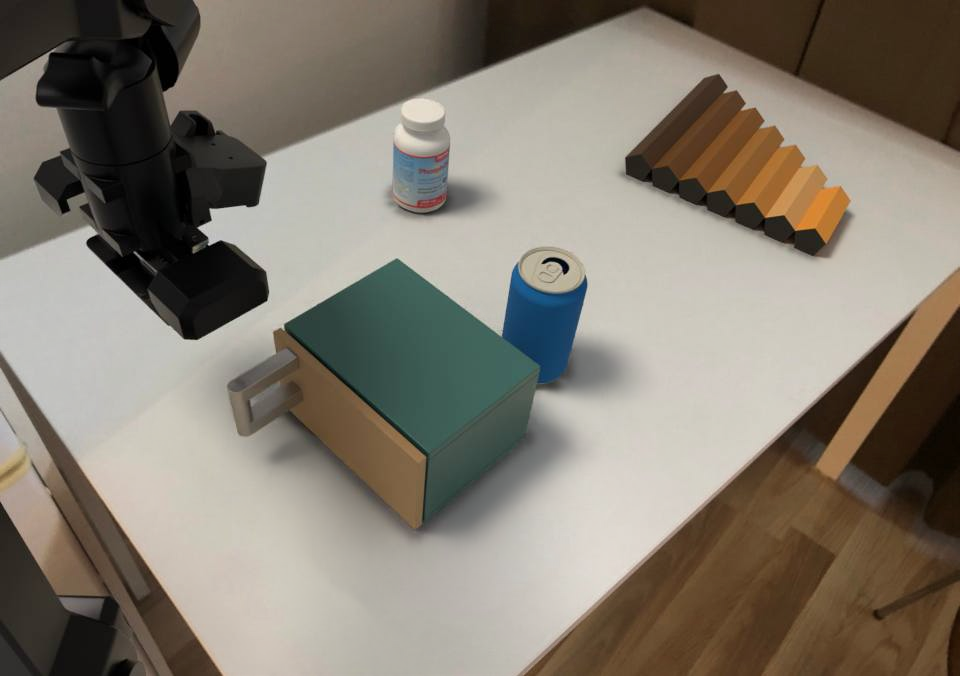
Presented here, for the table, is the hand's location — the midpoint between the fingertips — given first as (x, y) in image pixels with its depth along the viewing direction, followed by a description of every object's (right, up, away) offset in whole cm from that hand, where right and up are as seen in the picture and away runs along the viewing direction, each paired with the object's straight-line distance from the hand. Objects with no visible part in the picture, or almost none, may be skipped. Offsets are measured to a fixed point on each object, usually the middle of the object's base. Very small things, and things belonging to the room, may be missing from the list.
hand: (172, 320), depth 58 cm
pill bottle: (+16, +14, +32) cm, 38 cm away
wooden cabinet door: (+10, -13, +6) cm, 17 cm away
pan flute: (+57, +20, +42) cm, 74 cm away
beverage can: (+27, -4, +17) cm, 32 cm away
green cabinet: (+16, -8, +11) cm, 21 cm away
